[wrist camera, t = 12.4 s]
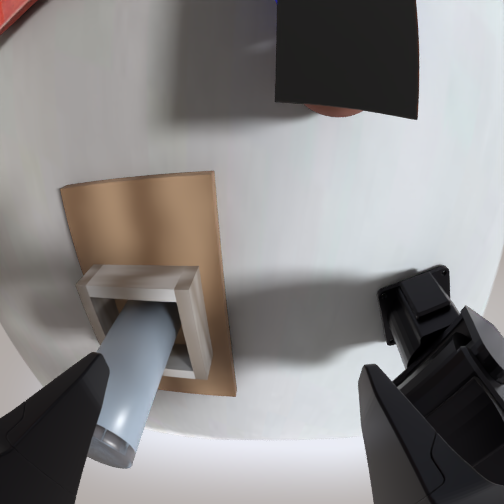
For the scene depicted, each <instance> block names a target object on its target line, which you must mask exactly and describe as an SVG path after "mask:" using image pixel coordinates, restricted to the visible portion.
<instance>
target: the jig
mask: <svg viewBox="0 0 504 504" xmlns="http://www.w3.org/2000/svg"><path fill="white" fill-rule="evenodd" d="M60 191H61V196H62V200H63V205H64V209H65V213H66V217H67V221H68V225H69V229H70V233H71V236H72V240H73V243H74V247H75V250H76V254H77V257H78V260H79V263H80V266H81V270H82V273H83V277H82V278H81V279H80V280H79V281H78V282H77V284H76V288H77V290H78V293H79V296H80V298H81V301H82V304H83V306H84V309H85V311H86V314H87V316H88V319H89V321H90V323H91V326H92V328H93V330H94V333H95V335H96V337H97V339H98V342H99V344H100V345H101V343H102V342H103V340H104V338H105V337H106V335H107V333H108V332H109V330H110V328H111V327H112V325H113V323H114V322H115V320H116V319H117V317H118V315H119V314H120V312H121V311H122V309H123V307H124V306H125V304H126V303H127V301H128V300H143V301H162V302H176V303H177V306H178V311H179V315H180V320H181V326H180V329H179V331H178V334H177V337H176V339H175V342H174V345H173V348H172V350H171V353H170V356H169V358H168V361H167V364H166V367H165V369H164V372H163V375H162V378H161V381H160V383H159V386H158V389H159V390H166V391H174V392H183V393H193V394H204V395H216V396H232V397H236V391H237V387H236V379H235V372H234V364H233V355H232V347H231V339H230V330H229V321H228V312H227V303H226V294H225V285H224V275H223V265H222V255H221V244H220V233H219V222H218V211H217V199H216V187H215V174H214V171H202V172H185V173H171V174H158V175H147V176H136V177H127V178H117V179H109V180H101V181H93V182H85V183H78V184H71V185H66V186H65V187H63V188H61V189H60Z"/></svg>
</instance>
